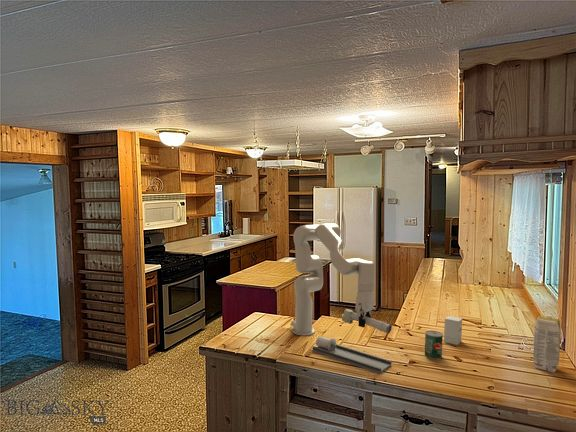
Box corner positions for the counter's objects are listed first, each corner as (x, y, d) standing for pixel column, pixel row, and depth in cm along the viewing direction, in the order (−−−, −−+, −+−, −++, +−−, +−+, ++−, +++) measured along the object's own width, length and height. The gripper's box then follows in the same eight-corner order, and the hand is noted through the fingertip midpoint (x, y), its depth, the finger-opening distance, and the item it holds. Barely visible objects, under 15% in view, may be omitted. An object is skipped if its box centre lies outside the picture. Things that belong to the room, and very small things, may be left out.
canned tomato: (440, 360, 181) (441, 337, 180) (423, 356, 184) (424, 334, 184) (443, 354, 188) (443, 332, 187) (426, 351, 191) (426, 329, 191)
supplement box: (458, 345, 200) (459, 321, 199) (443, 342, 205) (444, 318, 204) (461, 341, 206) (462, 318, 205) (447, 338, 210) (448, 315, 210)
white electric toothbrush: (387, 326, 172) (340, 307, 188) (385, 340, 173) (338, 320, 189) (392, 323, 176) (346, 305, 192) (390, 337, 177) (344, 317, 193)
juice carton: (559, 368, 174) (562, 316, 173) (556, 374, 168) (559, 320, 167) (535, 362, 180) (537, 311, 179) (531, 367, 175) (534, 315, 173)
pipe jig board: (312, 351, 189) (312, 337, 188) (325, 345, 197) (325, 332, 197) (380, 374, 165) (380, 358, 165) (391, 365, 174) (391, 351, 173)
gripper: (366, 283, 191) (365, 319, 192) (349, 289, 178) (348, 328, 178) (381, 285, 186) (379, 322, 187) (364, 291, 173) (363, 331, 174)
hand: (364, 324), depth 183 cm, fingers closed on white electric toothbrush, 4 cm apart
